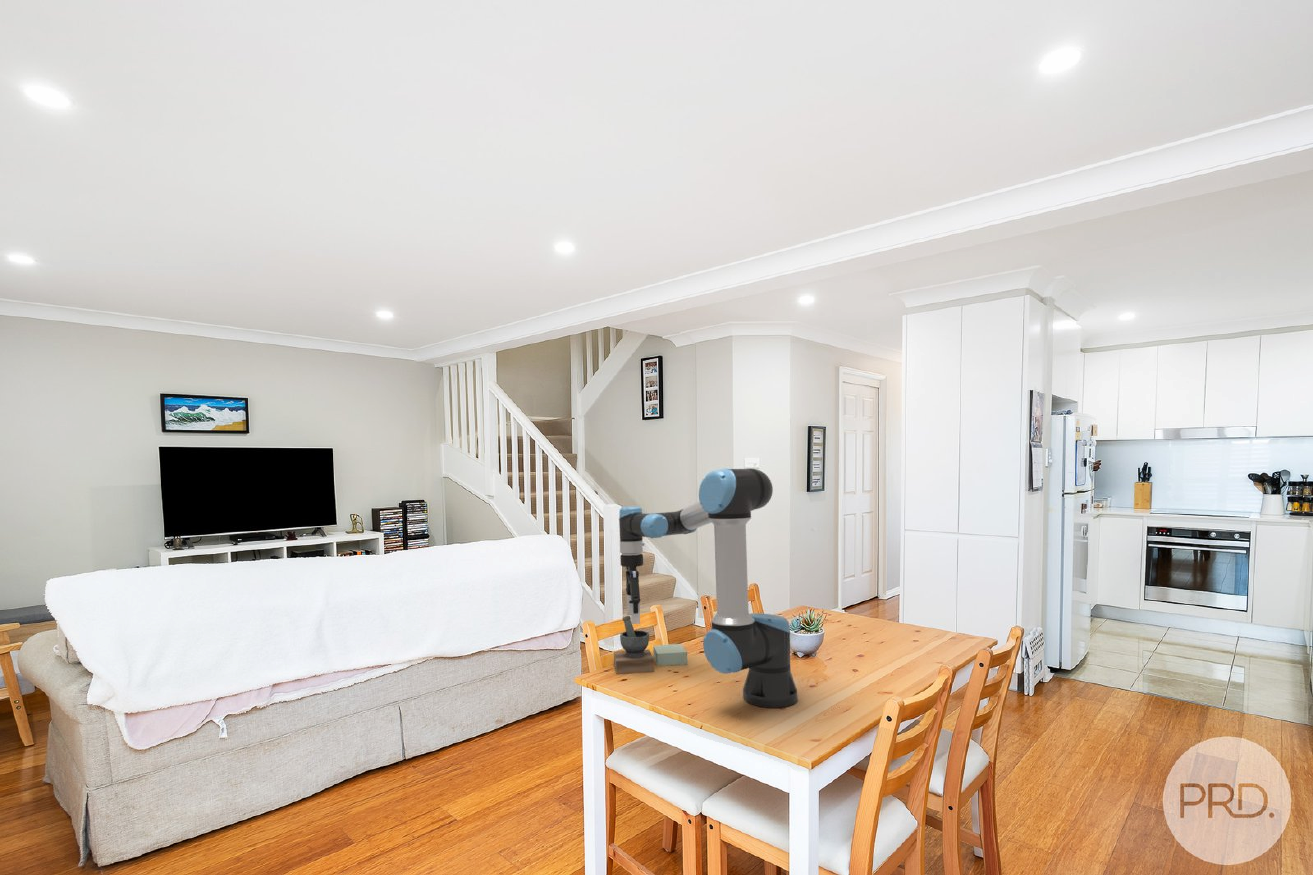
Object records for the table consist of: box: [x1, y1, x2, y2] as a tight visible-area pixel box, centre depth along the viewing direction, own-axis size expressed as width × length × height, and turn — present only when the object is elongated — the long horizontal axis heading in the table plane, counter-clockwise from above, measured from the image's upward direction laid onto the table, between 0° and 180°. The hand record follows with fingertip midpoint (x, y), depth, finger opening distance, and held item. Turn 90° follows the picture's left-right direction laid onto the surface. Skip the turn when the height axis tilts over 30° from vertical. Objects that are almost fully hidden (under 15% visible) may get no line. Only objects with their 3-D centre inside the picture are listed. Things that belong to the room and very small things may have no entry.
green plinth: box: [652, 643, 688, 667], centre depth 218 cm, size 10×10×4 cm
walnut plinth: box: [613, 649, 655, 675], centre depth 211 cm, size 11×12×4 cm
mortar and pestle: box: [619, 615, 650, 658], centre depth 212 cm, size 11×9×12 cm
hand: (633, 619), depth 211 cm, fingers open, 13 cm apart
